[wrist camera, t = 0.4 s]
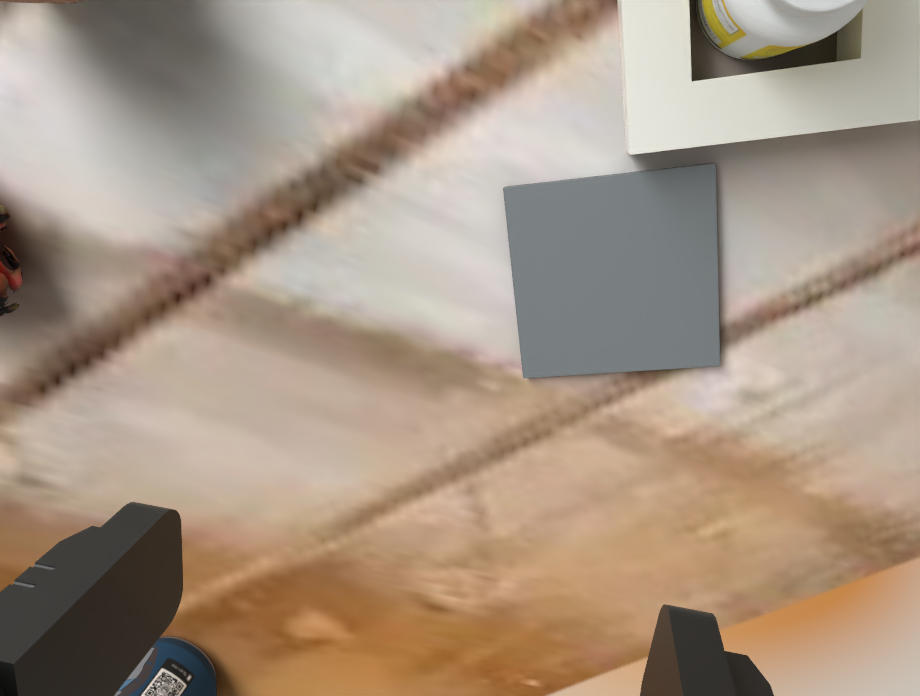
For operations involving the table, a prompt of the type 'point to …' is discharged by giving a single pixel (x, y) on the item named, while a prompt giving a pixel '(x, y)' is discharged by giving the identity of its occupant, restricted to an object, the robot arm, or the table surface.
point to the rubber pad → (616, 272)
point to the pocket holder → (764, 81)
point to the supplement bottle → (771, 24)
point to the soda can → (172, 671)
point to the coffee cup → (43, 1)
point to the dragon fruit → (5, 277)
